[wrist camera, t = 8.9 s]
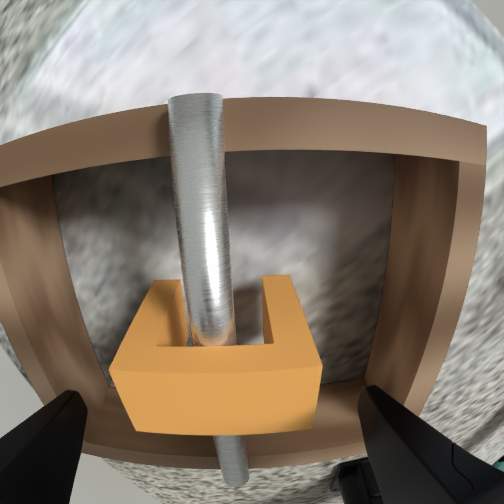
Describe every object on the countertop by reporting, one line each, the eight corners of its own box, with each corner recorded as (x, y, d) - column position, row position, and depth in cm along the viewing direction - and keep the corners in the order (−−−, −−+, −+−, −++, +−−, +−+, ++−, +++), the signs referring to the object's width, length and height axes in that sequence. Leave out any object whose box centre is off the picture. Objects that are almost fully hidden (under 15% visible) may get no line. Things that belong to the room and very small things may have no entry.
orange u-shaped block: (287, 330, 14) (312, 428, 9) (165, 335, 14) (136, 430, 8) (289, 274, 13) (322, 365, 8) (154, 280, 13) (108, 369, 7)
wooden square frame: (379, 389, 18) (411, 456, 12) (98, 399, 18) (71, 465, 12) (419, 125, 12) (508, 127, 7) (28, 149, 12) (-57, 165, 6)
